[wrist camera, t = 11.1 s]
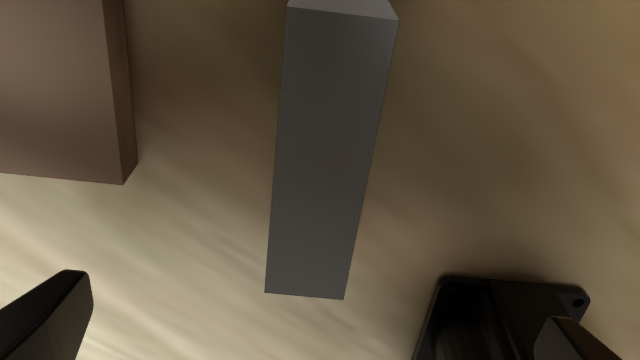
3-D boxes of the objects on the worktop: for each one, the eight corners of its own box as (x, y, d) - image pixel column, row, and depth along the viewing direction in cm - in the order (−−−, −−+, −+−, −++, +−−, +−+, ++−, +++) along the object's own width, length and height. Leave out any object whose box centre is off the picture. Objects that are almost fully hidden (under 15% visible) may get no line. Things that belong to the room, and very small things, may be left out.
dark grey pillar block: (369, 229, 19) (379, 303, 16) (244, 216, 19) (227, 289, 15) (490, -330, 11) (566, -429, 7) (270, -366, 11) (245, -488, 7)
